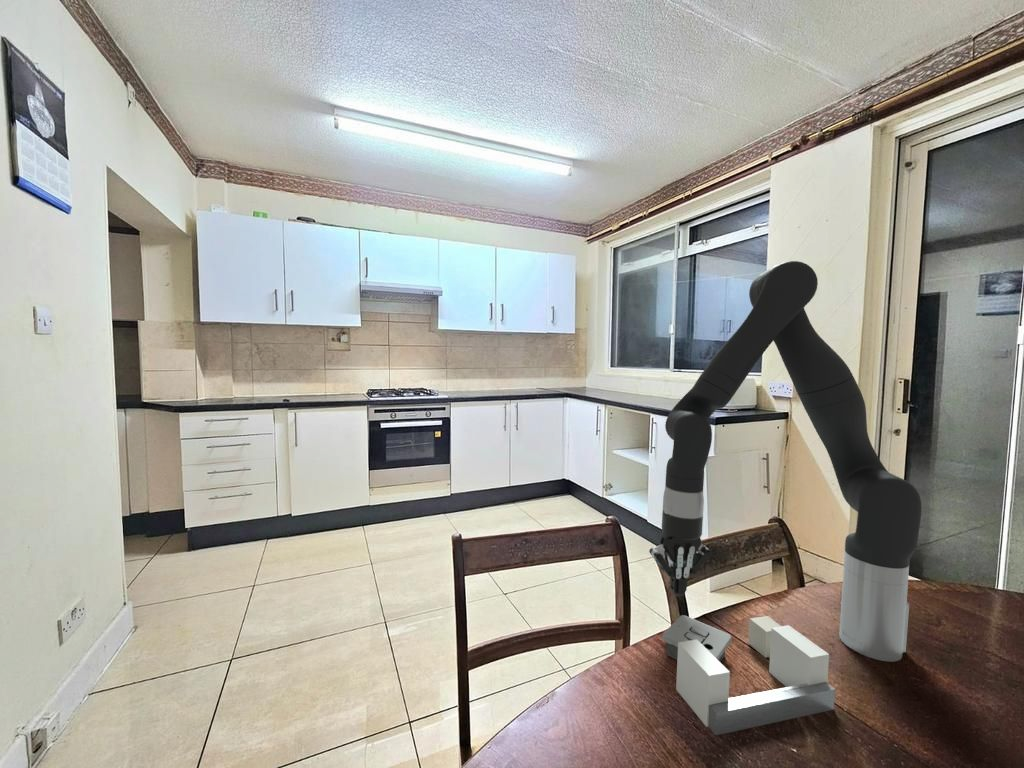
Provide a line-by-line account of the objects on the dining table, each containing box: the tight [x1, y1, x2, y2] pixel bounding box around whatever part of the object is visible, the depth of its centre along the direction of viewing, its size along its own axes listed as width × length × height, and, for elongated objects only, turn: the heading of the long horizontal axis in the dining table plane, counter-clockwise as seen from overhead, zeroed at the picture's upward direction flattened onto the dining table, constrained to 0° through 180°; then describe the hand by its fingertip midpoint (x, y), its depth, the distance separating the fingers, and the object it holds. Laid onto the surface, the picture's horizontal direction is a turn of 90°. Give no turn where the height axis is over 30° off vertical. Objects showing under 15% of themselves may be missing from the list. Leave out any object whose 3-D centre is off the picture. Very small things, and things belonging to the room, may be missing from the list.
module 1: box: [675, 639, 731, 728], centre depth 67 cm, size 4×8×8 cm, turn 13°
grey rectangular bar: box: [707, 681, 836, 736], centre depth 65 cm, size 21×2×4 cm, turn 103°
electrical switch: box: [661, 614, 732, 663], centre depth 79 cm, size 9×5×9 cm
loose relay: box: [748, 615, 782, 658], centre depth 81 cm, size 4×4×5 cm
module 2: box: [768, 624, 830, 687], centre depth 72 cm, size 4×8×8 cm, turn 13°
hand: (677, 593), depth 88 cm, fingers closed
